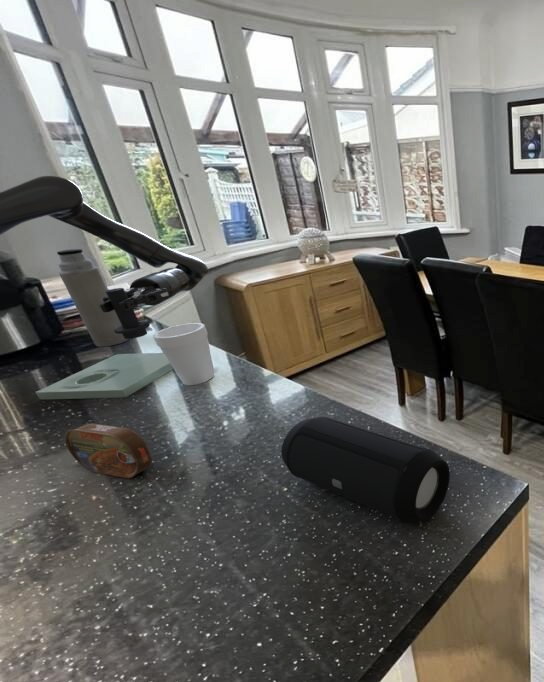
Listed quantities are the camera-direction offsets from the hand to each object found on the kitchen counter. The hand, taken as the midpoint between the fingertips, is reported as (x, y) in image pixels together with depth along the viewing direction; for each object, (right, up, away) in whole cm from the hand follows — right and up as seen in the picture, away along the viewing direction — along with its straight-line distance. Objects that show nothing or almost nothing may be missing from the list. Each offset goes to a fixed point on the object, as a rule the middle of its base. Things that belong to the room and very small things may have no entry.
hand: (113, 307), depth 92 cm
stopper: (0, -7, +6) cm, 9 cm away
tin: (+27, -30, -25) cm, 48 cm away
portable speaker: (+72, -31, -31) cm, 84 cm away
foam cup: (+17, -17, +4) cm, 25 cm away
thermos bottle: (-29, -8, +29) cm, 41 cm away
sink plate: (-4, -17, +6) cm, 19 cm away
